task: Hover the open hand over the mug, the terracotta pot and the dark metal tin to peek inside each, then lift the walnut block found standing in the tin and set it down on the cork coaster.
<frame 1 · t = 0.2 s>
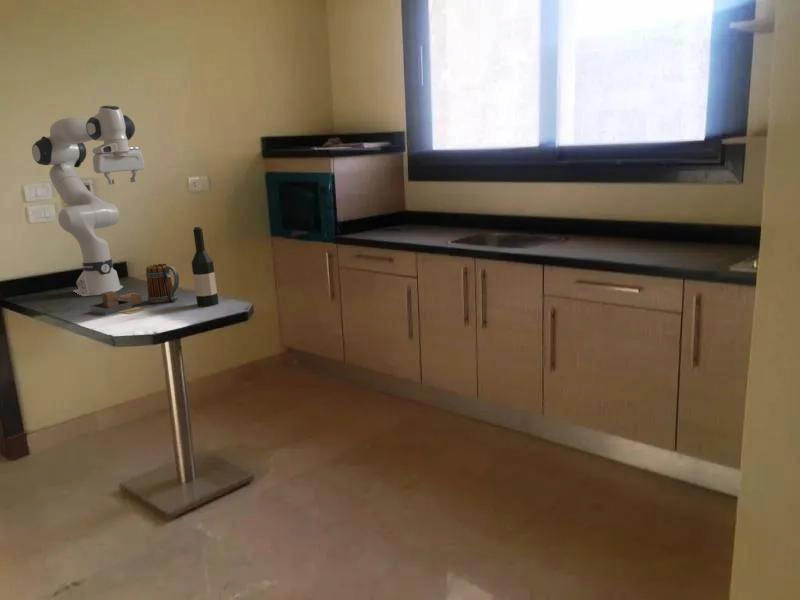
hand: (122, 183, 269), 47 cm above the table, fingers open, 8 cm apart
mug: (167, 302, 268), on the table
terracotta pot: (131, 304, 268), on the table
tin: (112, 311, 259), on the table
wine bottle: (208, 304, 260), on the table
cork coaster: (133, 311, 256), on the table
walnut block: (111, 310, 259), resting on tin
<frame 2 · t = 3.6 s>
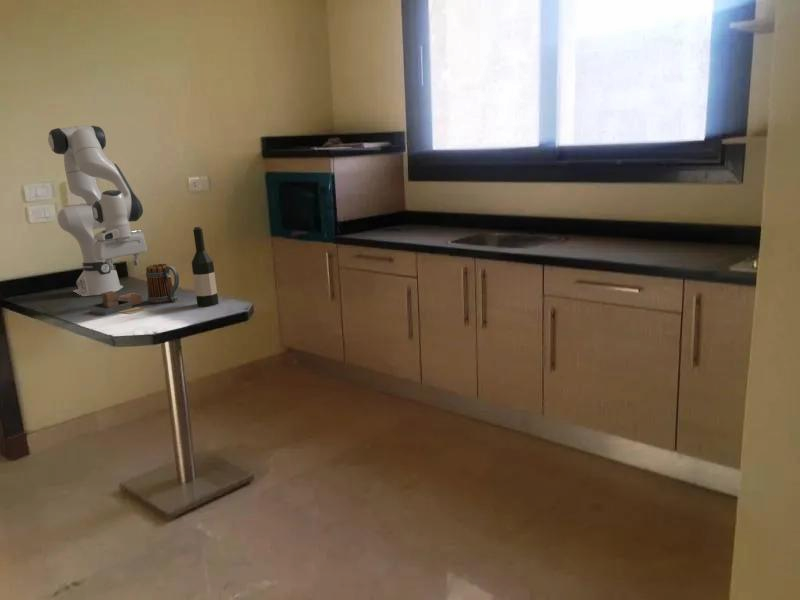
hand: (124, 267, 264), 15 cm above the table, fingers open, 8 cm apart
nothing on the table moved.
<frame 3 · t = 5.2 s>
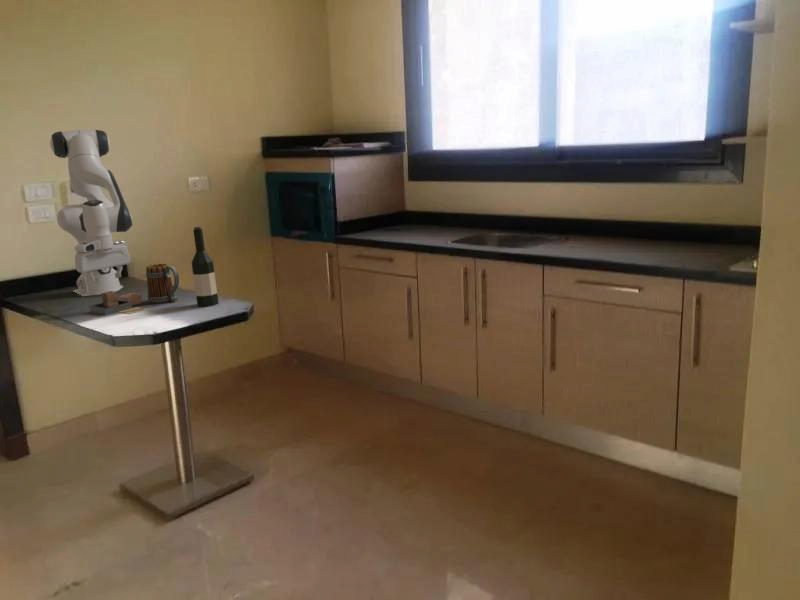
hand: (106, 280, 256), 13 cm above the table, fingers open, 8 cm apart
nothing on the table moved.
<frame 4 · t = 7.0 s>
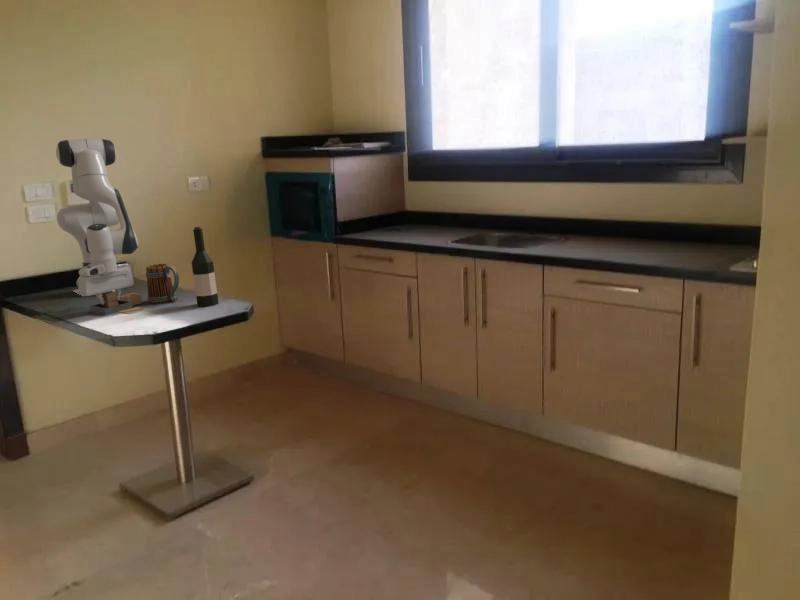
hand: (110, 302, 258), 4 cm above the table, fingers closed on walnut block, 4 cm apart
walnut block: (111, 310, 259), point 1 cm above the table, touching gripper, tin
everything else where it was.
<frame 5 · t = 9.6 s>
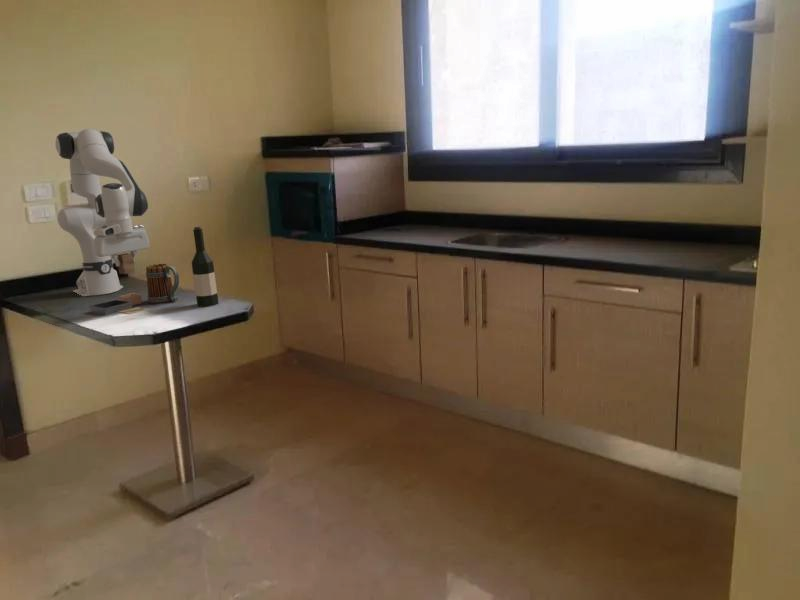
hand: (125, 264, 251), 18 cm above the table, fingers closed on walnut block, 4 cm apart
walnut block: (127, 272, 252), point 15 cm above the table, touching gripper
everything else where it was.
when the fingers open (6 cm above the table, at t = 12.1 s): walnut block drops 2 cm, resting on cork coaster.
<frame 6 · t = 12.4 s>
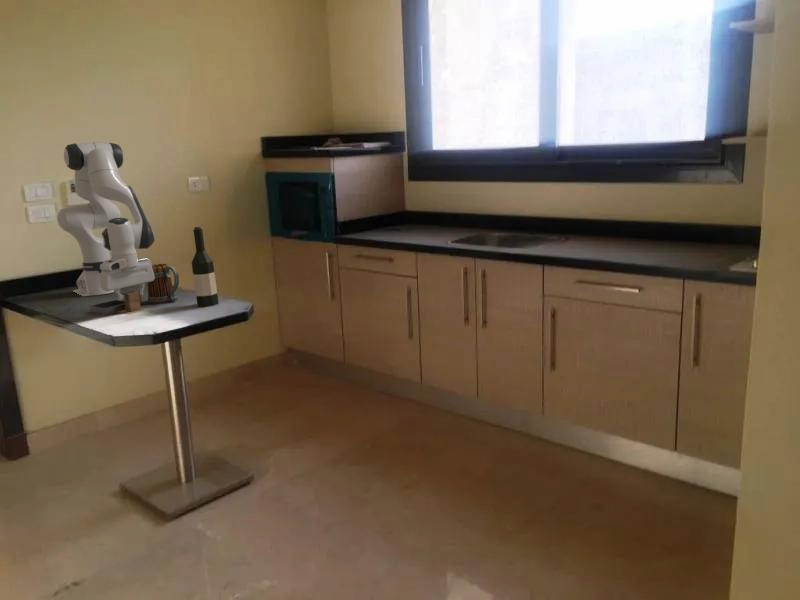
hand: (131, 297, 254), 6 cm above the table, fingers open, 6 cm apart
walnut block: (133, 310, 255), point 1 cm above the table, touching cork coaster
everything else where it was.
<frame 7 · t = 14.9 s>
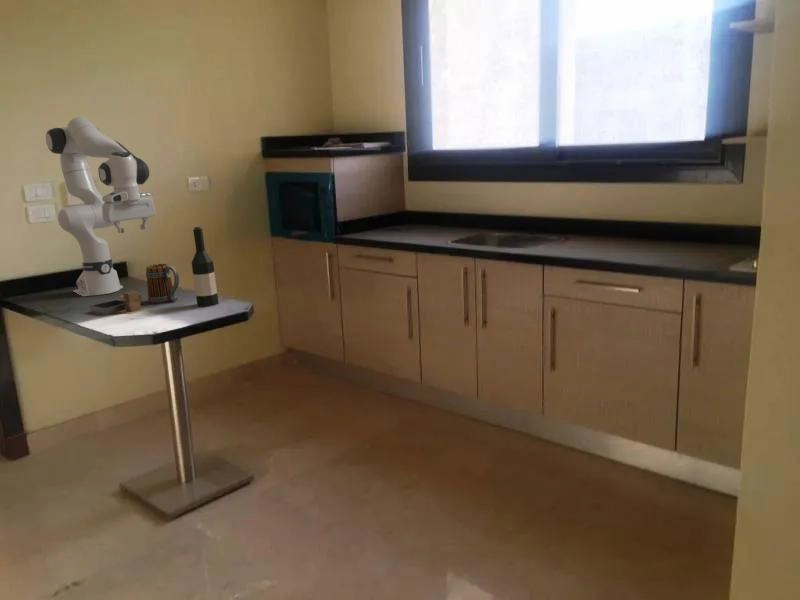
hand: (132, 231, 260), 29 cm above the table, fingers open, 8 cm apart
nothing on the table moved.
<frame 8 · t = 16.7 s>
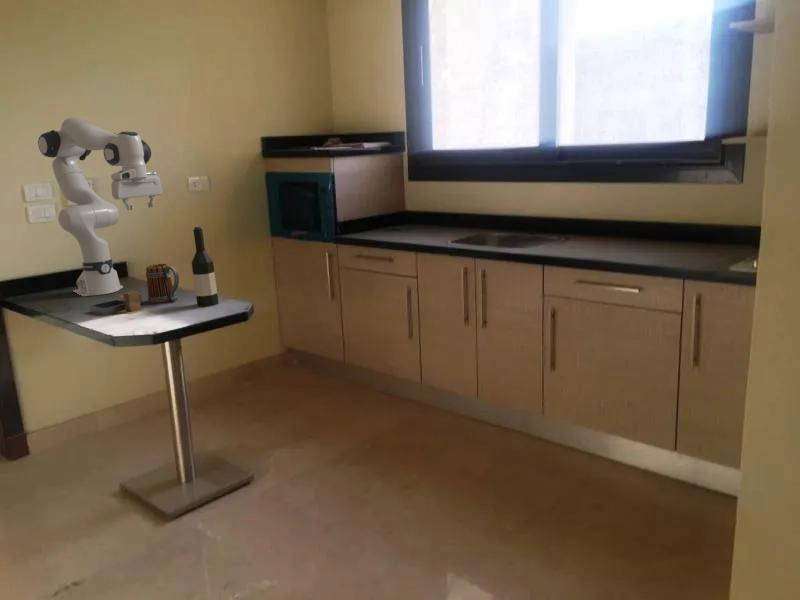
hand: (140, 208, 269), 37 cm above the table, fingers open, 8 cm apart
nothing on the table moved.
at the end: walnut block inside the target area on the cork coaster (0.0 cm from its centre), point 0.6 cm above the cork coaster's base; walnut block tilted 0°; the gripper is holding nothing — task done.
